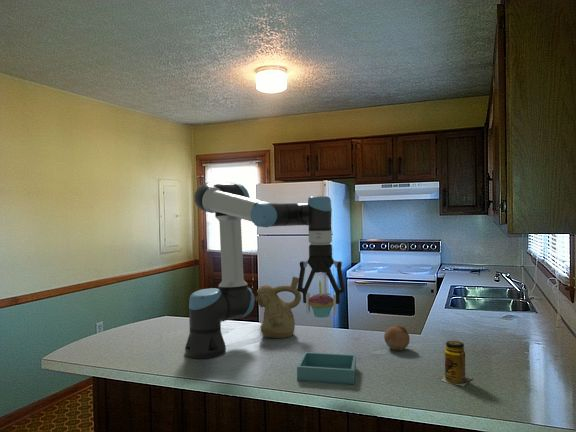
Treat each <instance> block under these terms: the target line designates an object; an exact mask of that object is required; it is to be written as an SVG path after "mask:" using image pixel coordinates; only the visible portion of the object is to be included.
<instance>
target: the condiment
mask: <svg viewBox="0 0 576 432" xmlns="http://www.w3.org/2000/svg"><path fill="white" fill-rule="evenodd" d="M472 379H473V377H471V376H470V377H469V376H466V351H465V344H464V343H463V342H462V341H458V340H448V341H446V342H445V350H444V377H443V378H442V379H441V380H439V381H440V382H444V383H448V384H451V385H455V386H462V387H465V386H466V385H467V384H468V383H470V381H471V380H472Z"/></svg>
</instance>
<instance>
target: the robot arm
mask: <svg viewBox="0 0 576 432" xmlns="http://www.w3.org/2000/svg"><path fill="white" fill-rule="evenodd" d="M193 198H194V204H195V205H196V207H197V208H198V209H199V210H201V211H203V212H207V213H211V214H215V216H214V217H215V218H216V220H218V222H219V240H220V241H219V243H220V263H221V265H220V267H221V282H220V283H219V284H218V286H217V287H218V288H215V287H210V288H203V289H202V288H201V289H198V290H196V291H194V292H192V293H191V294H190V296H189V302H188V303H189V304H188V309H189V312H188V313H189V315H188V316H189V318H188V319H189V333H188V338H187V339H186V344H185V346H184V354H185V356H186V357H188V358H191V359H211V358H212V359H213V358H216V357H220V356H222V355H224V354H225V353H226V347H227V346H226V342H225V339H224V337H223V334H222V330H221V328H222V324H221V323H222V322H226V321H231V320H234V319H241V318H244V317H246V316H248V315H250V314H251V312H252V311H253V309H254V307H255V301H256V298H255V294H254V293H253V290H252V288H250V287H249V286H248V283H247V281H245V279H244V263H243V262H244V260H243V240H242V239H243V237H242V236H243V235H242V220H245V221H247V222H249V221H250V222H251V223H253V224H254V226H256V227H258V228H260V227H262V228H270V227H271V228H272V227H289V226H290V227H292V226H293V227H294V226H308V243H310V244H309V245H308V259H307V260H301V261H300V262H299V267H300V268H299V269H300V270H299V274H298V275H299V276H298V278H299V281H298V285H297V291H299V292H300V293H302V302H303V304H305V307H306V312H305V313H306V315H310V313H311V306H310V305H309V299H310V298H311V292H308V291H309V288H310V286H311V284H312V283H313V279H314V277H315V275H316V273H323V274H324V273H325V274H326V275H327V278H328V280H329V282H330V284H331V286H332V288H333V290H334V293H333V294H332V296H333V297H332V298H333V307H332V309H333V316H336V315H337V314H338V305H339V304H341V294H342V293H344V292H345V293H346V286H345V285H346V284H345V280H344V275H343V269H342V267H343V266H342V265H343V262H342V261H341V260H339V261H338V260H335V259H334V258H333V245H332V244H331V243H333V229H332V212H333V209H332V200H331V197H329V196H328V195H327V196H324V195H321V196H318V195H316V196H315V195H314V196H309V197H308V198H307V202H300V203H299V202H298V203H292V202H291V203H289V202H288V203H287V202H286V203H284V202H283V203H282V202H281V203H277V202H275V203H274V202H269V201H264V200H259V199H257V198H256V199H255V198H251V197H250V194H249V191H248V190H247V188H246V187H245V186H244V185H243V184H240V183H235V182H213V181H210V182H205V183H202V184H201V185H199V186H198V187H197V188H196V190H195V192H194V194H193ZM333 265H334V267H335V268H336V271H337V278H338V282H339V285H338V284H337V283H338V282H337V281H336V279H335V277H334V275H333V273H332V269H331V267H332V266H333ZM308 266H309V267H310V268H311V271H310V274H309V276H308V278H307V281H306V282H305V285H304V280H305V274H306V273H305V272H306V267H308ZM303 285H304V286H303ZM339 286H340V288H339Z"/></svg>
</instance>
